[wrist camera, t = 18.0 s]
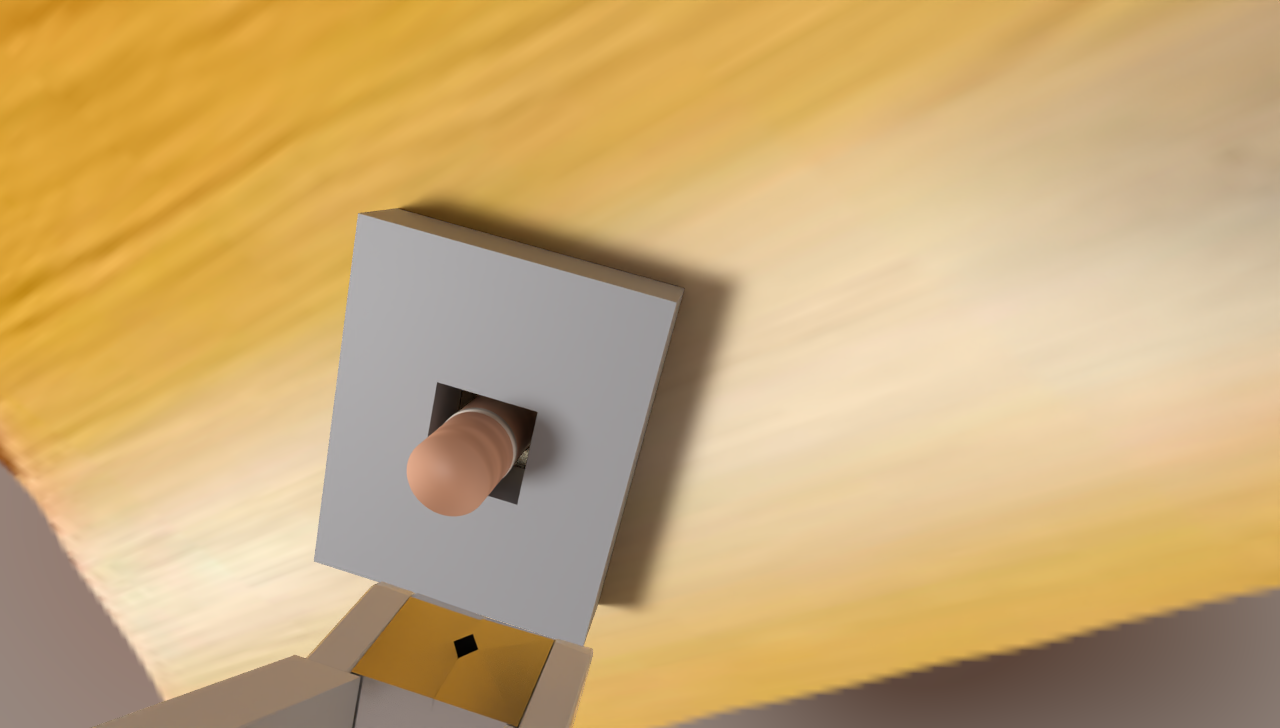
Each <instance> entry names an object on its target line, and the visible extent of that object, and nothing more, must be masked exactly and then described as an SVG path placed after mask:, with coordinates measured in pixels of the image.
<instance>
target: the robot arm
mask: <svg viewBox="0 0 1280 728" xmlns="http://www.w3.org/2000/svg"><path fill="white" fill-rule="evenodd" d="M592 657H593V649H591V648H588V647H584V646H581V645H578V644H574V643H571V642H567V641H564V640H561V639H554V638H550V637H547V636H544V635H541V634H538V633H535V632H531V631H528V630H525V629H522V628H519V627H516V626H512V625H509V624H506V623H503V622H500V621H497V620H493V619H490V618H487V617H485V616H482V615H479V614H476V613H474V612H471V611H468V610H465V609H462V608H459V607H456V606H453V605H451V604H448V603H445V602H442V601H439V600H436V599H433V598H431V597H428V596H425V595H422V594H419V593H416V594H415V593H414V592H412V591H409V590H406V589H403V588H400V587H397V586H394V585H391V584H388V583H385V582H382V581H381V582H379V583H377V584H375V585H373V586H371V588H370V589H369V590H368V591H367V592H366V593H365V594H364V595H363V596H362V597H361V598H360V600H359V601H358V602H357V603H356V604H355V605H354V606H353V607H352V608H351V609H350V611H349V612H348V613H347V614H346V615H345V616H344V617H343V618H342V619H341V620H340V622H339V623H338V624H337V625H336V626H335V627H334V628H333V629H332V630H331V631H330V633H329V634H328V635H327V636H326V637H325V638H324V639H323V640H322V641H321V642H320V643H319V645H318V646H317V647H316V648H315V649H314V650H313V651H312V652H311V653H310V654H309V656H308V657H307V658H303V657H300V656H297V655H293V656H291V657H288V658H285V659H282V660H279V661H277V662H274V663H271V664H268V665H265V666H263V667H260V668H257V669H254V670H251V671H248V672H246V673H243V674H240V675H237V676H234V677H232V678H229V679H226V680H223V681H220V682H218V683H215V684H212V685H209V686H206V687H204V688H201V689H198V690H195V691H192V692H190V693H187V694H184V695H181V696H178V697H176V698H173V699H170V700H167V701H164V702H161V703H159V704H156V705H153V706H150V707H148V708H145V709H142V710H139V711H136V712H133V713H131V714H128V715H125V716H122V717H119V718H117V719H114V720H111V721H108V722H105V723H103V724H100V725H97V726H94V727H91V728H572V727H573V724H574V720H575V717H576V713H577V710H578V706H579V703H580V699H581V696H582V692H583V689H584V685H585V682H586V678H587V674H588V671H589V667H590V664H591V660H592Z"/></svg>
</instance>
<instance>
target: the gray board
mask: <svg viewBox="0 0 1280 728" xmlns="http://www.w3.org/2000/svg"><path fill="white" fill-rule="evenodd" d="M684 289H685V288H681V287H678V286H674V285H671V284H667V283H664V282H660V281H656V280H653V279H649V278H646V277H642V276H638V275H635V274H631V273H628V272H624V271H620V270H617V269H613V268H610V267H606V266H602V265H599V264H595V263H592V262H588V261H585V260H581V259H577V258H574V257H570V256H567V255H563V254H559V253H556V252H552V251H549V250H545V249H541V248H538V247H534V246H531V245H527V244H524V243H520V242H516V241H513V240H509V239H506V238H502V237H498V236H495V235H491V234H488V233H484V232H480V231H477V230H473V229H470V228H466V227H462V226H459V225H455V224H452V223H448V222H445V221H441V220H437V219H434V218H430V217H427V216H423V215H419V214H416V213H412V212H409V211H405V210H401V209H398V208H397V209H389V210H381V211H373V212H365V213H358V220H357V227H356V235H355V243H354V251H353V259H352V267H351V275H350V282H349V290H348V298H347V306H346V314H345V322H344V330H343V337H342V345H341V353H340V361H339V369H338V377H337V385H336V392H335V400H334V408H333V416H332V424H331V432H330V440H329V447H328V455H327V463H326V471H325V479H324V487H323V494H322V502H321V510H320V518H319V526H318V534H317V542H316V549H315V557H314V561H315V562H318V563H321V564H324V565H327V566H330V567H333V568H336V569H339V570H343V571H346V572H349V573H352V574H355V575H358V576H361V577H364V578H368V579H371V580H374V581H377V582H381V581H382V582H385V583H388V584H391V585H394V586H397V587H400V588H403V589H406V590H409V591H412V592H414V593H415V594H416V593H419V594H422V595H425V596H428V597H431V598H433V599H436V600H439V601H442V602H445V603H448V604H451V605H453V606H456V607H459V608H462V609H465V610H468V611H471V612H474V613H476V614H480V615H483V616H486V617H489V618H492V619H495V620H498V621H501V622H505V623H508V624H511V625H514V626H517V627H520V628H523V629H526V630H529V631H533V632H536V633H539V634H542V635H545V636H548V637H551V638H554V639H561V640H564V641H567V642H571V643H574V644H578V645H581V646H584V643H585V640H586V637H587V634H588V632H589V629H590V626H591V623H592V620H593V617H594V615H595V612H596V609H597V606H598V603H599V599H600V595H601V592H602V588H603V584H604V581H605V577H606V573H607V570H608V566H609V562H610V559H611V555H612V552H613V548H614V544H615V541H616V537H617V533H618V530H619V526H620V522H621V519H622V515H623V511H624V508H625V504H626V500H627V497H628V493H629V489H630V486H631V482H632V478H633V475H634V471H635V468H636V464H637V460H638V457H639V453H640V449H641V446H642V442H643V438H644V435H645V431H646V427H647V424H648V420H649V416H650V413H651V409H652V405H653V402H654V398H655V394H656V391H657V387H658V384H659V380H660V376H661V373H662V369H663V365H664V362H665V358H666V354H667V351H668V347H669V343H670V340H671V336H672V332H673V329H674V325H675V321H676V318H677V314H678V310H679V307H680V303H681V299H682V296H683V292H684ZM462 390H465V391H469V392H472V393H476V394H479V395H482V396H486V397H489V398H492V399H496V400H499V401H503V402H506V403H509V404H513V405H516V406H519V407H523V408H526V409H529V410H533V411H536V412H538V413H537V418H536V422H535V427H534V431H533V436H532V440H531V445H530V449H529V454H528V458H527V463H526V467H525V469H523V468H519V467H516V466H513V467H512V468H511V470H510V471H509V472H508V473H507V475H506V476H505V477H504V478H502V479H501V480H500V482H499V483H498V484H497V485H496V487H495V488H494V489H493V490H492V491H491V493H490V494H489V495H488V496H487V498H486V499H485V500H484V501H483V502H482V504H481V505H480V506H479V507H478V508H477V509H475V510H474V511H472V512H471V513H469V514H466V515H462V516H445V515H441V514H438V513H436V512H433V511H432V510H430V509H428V508H427V507H425V506H424V505H423V504H422V503H421V502H420V501H419V500H418V499H417V498H416V496H415V495H414V493H413V492H412V490H411V488H410V486H409V483H408V479H407V463H408V459H409V457H410V455H411V453H412V451H413V450H414V449H415V448H416V447H417V446H418V445H419V444H420V443H421V442H423V441H424V440H425V439H426V438H427V437H429V436H430V435H431V434H432V433H433V432H435V431H436V430H437V429H438V428H439V427H441V426H442V425H443V424H444V423H445V422H446V421H447V420H448V419H449V418H450V417H451V416H452V415H454V414H455V413H457V412H458V408H459V403H460V397H461V392H462Z"/></svg>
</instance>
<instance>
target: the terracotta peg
mask: <svg viewBox="0 0 1280 728" xmlns="http://www.w3.org/2000/svg"><path fill="white" fill-rule="evenodd" d="M537 413H538V412H536V411H533V410H529V409H526V408H523V407H519V406H516V405H513V404H509V403H506V402H503V401H499V400H496V399H492V398H489V397H486V396H482V395H478V396H477V397H476V398H474V399H473V400H472V401H471V402H470V403H468V404H467V405H466V406H465V407H464V408H462V409H461V410H460V411H458V412H457V413H455V414H454V415H452V416H451V417H450V418H449V419H448V420H447V421H446V422H445V423H444V424H443V425H442V426H441V427H439V428H438V429H437V430H436V431H435V432H433V433H432V434H431V435H430V436H429V437H427V438H426V439H425V440H424V441H423V442H421V443H420V444H419V445H418V446H417V447H416V448H415V449H414V450H413V451H412V453H411V455H410V457H409V459H408V463H407V479H408V483H409V486H410V488H411V490H412V492H413V493H414V495H415V496H416V498H417V499H418V500H419V501H420V502H421V503H422V504H423V505H424V506H425V507H427V508H428V509H430V510H432V511H433V512H436V513H438V514H441V515H445V516H462V515H466V514H469V513H471V512H472V511H474V510H475V509H477V508H478V507H479V506H480V505H481V504H482V502H483V501H484V500H485V499H486V498H487V496H488V495H489V494H490V493H491V491H492V490H493V489H494V488H495V487H496V485H497V484H498V483H499V482H500V480H501V479H502V478H504V477H505V476H506V475H507V473H508V472H509V471H510V470H511V468H512V467H513V465H514V463H515V462H516V461H517V460H518V458H519V457H520V456H521V455H522V453H523V452H524V451H525V450H526V449H527V447H528V446H529V445H530V444H531V440H532V436H533V431H534V427H535V422H536V418H537Z"/></svg>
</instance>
